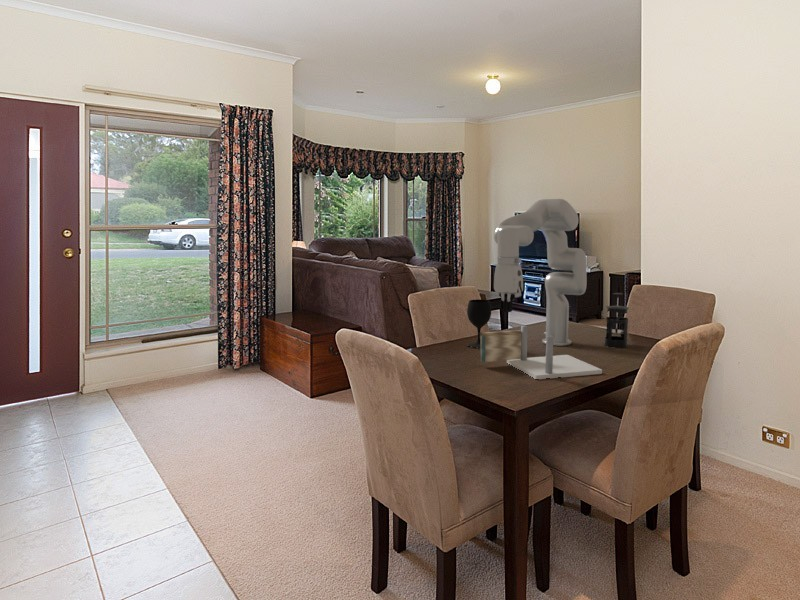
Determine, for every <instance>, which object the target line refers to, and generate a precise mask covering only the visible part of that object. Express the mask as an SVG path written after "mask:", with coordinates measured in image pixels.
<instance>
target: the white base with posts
mask: <svg viewBox="0 0 800 600" xmlns="http://www.w3.org/2000/svg"><path fill="white" fill-rule="evenodd" d="M520 331H521V359H514V360H506V364H507V363H508V365H509V364H510V365H509V366H511V365H512V366H513V368H514V367H515V368H514V369H516V368H517V369H516V370H518V369H519V370H521V371H523V372H524V373H523V372H522V373H523V374H525V373H526V374H528V375H529V376H528V375H527V376H528V377H530V376H531V377H530V378H532V377H533V378H534V380H535V379H539V380H547V379H546V378H550V379H559V378H558V377H561V378H569V377H581V376H591V375H602V374H603V369H601V368H600V367H598V366H595V365H592V364H590V363H589V362H585V361H583V360H582V359H579V358H575V357H574V356H572V355H569V354H559V355H554V345H553V336H546V335H545V338H546V344H545V356H534V357H528V325H521V326H520ZM512 366H511V367H512ZM519 370H518V371H519ZM521 371H520V372H521ZM526 374H525V375H526ZM533 378H532V379H533Z"/></svg>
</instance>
